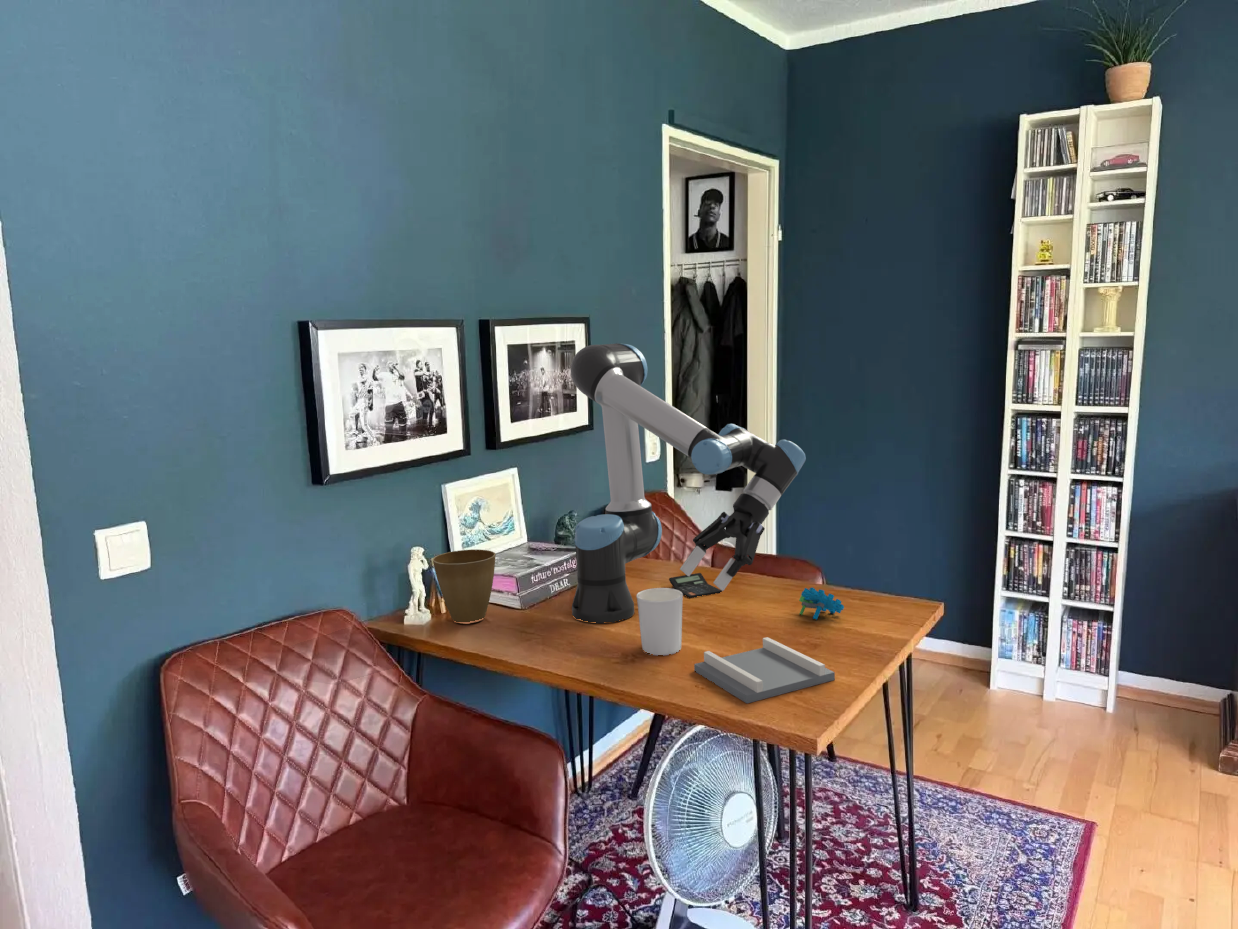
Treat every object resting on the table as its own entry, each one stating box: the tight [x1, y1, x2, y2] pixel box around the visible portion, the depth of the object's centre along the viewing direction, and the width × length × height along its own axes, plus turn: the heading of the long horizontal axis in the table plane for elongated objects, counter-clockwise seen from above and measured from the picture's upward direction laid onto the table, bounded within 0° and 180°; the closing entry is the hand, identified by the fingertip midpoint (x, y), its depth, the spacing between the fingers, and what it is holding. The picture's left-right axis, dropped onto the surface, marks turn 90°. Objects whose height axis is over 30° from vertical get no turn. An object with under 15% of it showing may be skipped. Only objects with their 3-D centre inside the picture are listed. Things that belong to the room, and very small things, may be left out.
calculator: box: [668, 572, 723, 599], centre depth 225 cm, size 9×12×3 cm
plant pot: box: [432, 548, 496, 622], centre depth 207 cm, size 15×15×16 cm
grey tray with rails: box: [693, 636, 836, 704], centre depth 166 cm, size 20×18×4 cm
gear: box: [799, 587, 845, 621], centre depth 198 cm, size 11×6×10 cm
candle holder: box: [635, 587, 684, 656], centre depth 182 cm, size 10×10×12 cm
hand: (700, 579), depth 185 cm, fingers open, 13 cm apart
